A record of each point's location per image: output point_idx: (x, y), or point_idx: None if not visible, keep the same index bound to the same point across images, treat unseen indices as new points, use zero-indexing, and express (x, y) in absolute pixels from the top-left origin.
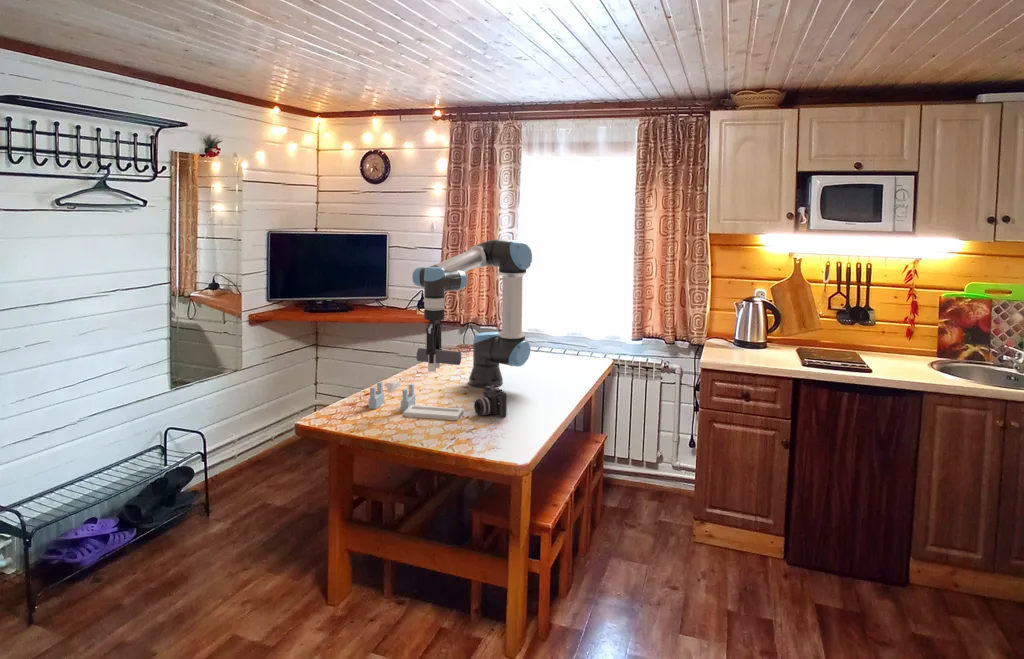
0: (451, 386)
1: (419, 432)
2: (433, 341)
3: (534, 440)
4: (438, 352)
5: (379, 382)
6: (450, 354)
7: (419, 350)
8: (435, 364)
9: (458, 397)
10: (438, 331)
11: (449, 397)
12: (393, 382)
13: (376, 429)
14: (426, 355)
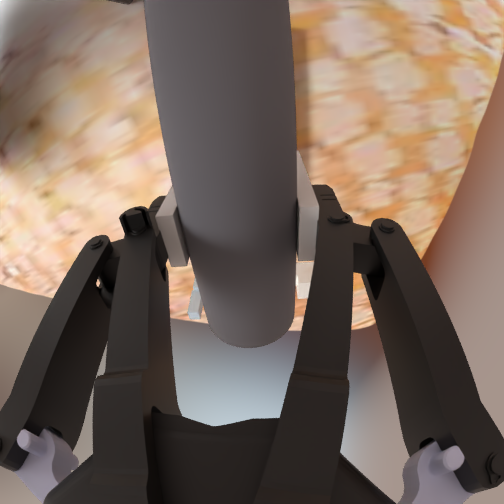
0: (14, 185)
1: (416, 115)
2: (426, 318)
3: None
4: (277, 197)
5: (195, 316)
6: (278, 59)
7: (278, 331)
8: (297, 168)
9: (65, 122)
10: (151, 429)
11: (76, 144)
12: (306, 282)
13: (401, 216)
14: (295, 266)
